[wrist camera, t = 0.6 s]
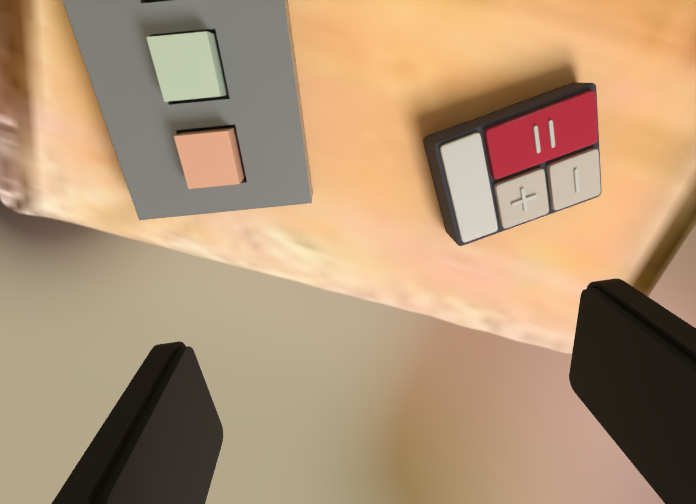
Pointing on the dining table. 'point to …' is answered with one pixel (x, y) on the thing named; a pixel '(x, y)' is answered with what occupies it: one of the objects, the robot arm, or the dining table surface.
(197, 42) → the key sage
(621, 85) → the dining table surface
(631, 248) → the dining table surface
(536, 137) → the button control box
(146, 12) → the keypad
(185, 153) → the key terracotta
